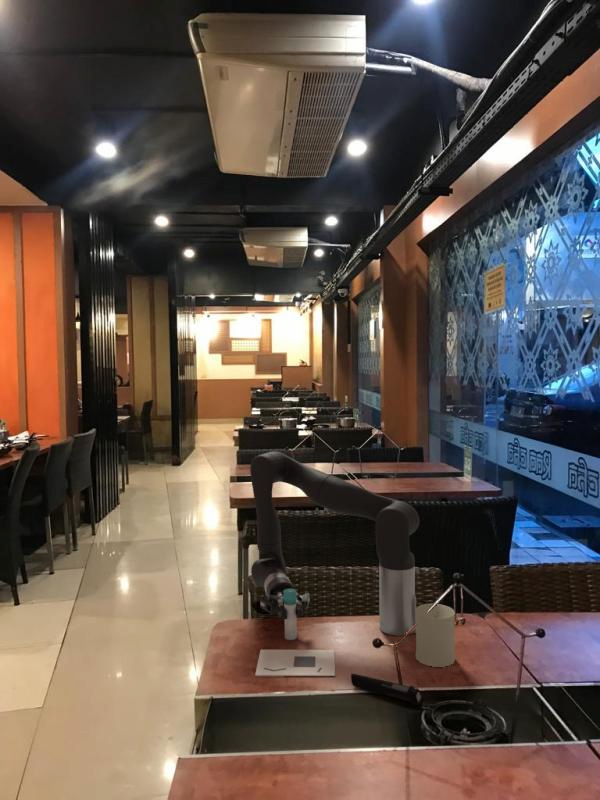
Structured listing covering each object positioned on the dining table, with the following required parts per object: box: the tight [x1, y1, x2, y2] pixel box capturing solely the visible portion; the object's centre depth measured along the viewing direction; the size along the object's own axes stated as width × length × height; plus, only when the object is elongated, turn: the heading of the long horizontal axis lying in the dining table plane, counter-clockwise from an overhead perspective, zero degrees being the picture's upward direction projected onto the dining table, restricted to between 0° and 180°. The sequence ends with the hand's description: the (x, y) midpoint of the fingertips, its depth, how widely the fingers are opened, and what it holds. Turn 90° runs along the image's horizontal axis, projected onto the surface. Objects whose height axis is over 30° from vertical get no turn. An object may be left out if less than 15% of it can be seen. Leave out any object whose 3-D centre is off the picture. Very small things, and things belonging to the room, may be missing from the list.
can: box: [414, 603, 456, 668], centre depth 143 cm, size 9×9×12 cm
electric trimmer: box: [350, 673, 423, 707], centre depth 128 cm, size 4×16×3 cm, turn 62°
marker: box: [283, 588, 298, 641], centre depth 152 cm, size 3×3×12 cm
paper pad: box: [254, 649, 336, 677], centre depth 142 cm, size 18×12×1 cm, turn 88°
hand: (292, 614), depth 149 cm, fingers closed on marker, 3 cm apart
